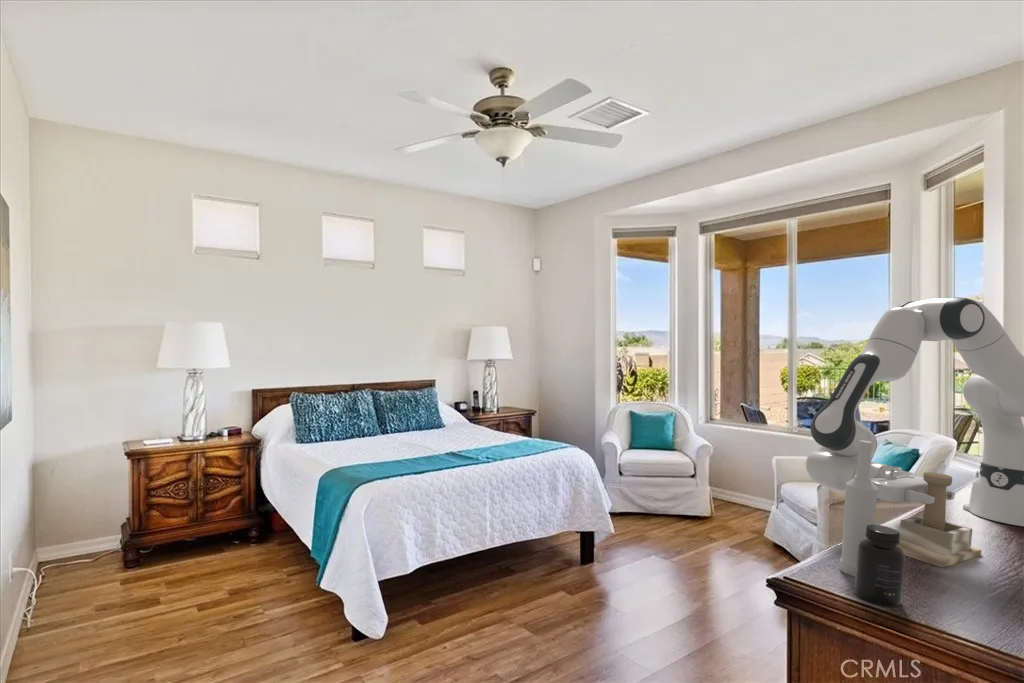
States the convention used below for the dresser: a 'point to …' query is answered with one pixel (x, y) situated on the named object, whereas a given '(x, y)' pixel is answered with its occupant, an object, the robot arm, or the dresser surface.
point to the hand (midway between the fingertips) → (943, 498)
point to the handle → (936, 500)
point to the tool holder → (936, 542)
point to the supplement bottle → (880, 567)
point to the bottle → (858, 509)
